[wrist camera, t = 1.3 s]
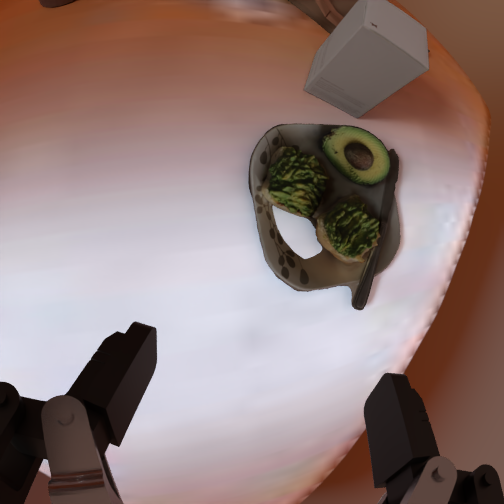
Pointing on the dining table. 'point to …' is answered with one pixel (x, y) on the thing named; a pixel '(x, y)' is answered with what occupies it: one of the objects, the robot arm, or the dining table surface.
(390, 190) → the salad plate
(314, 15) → the ring holder
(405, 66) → the supplement box
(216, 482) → the dining table surface
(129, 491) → the dining table surface
